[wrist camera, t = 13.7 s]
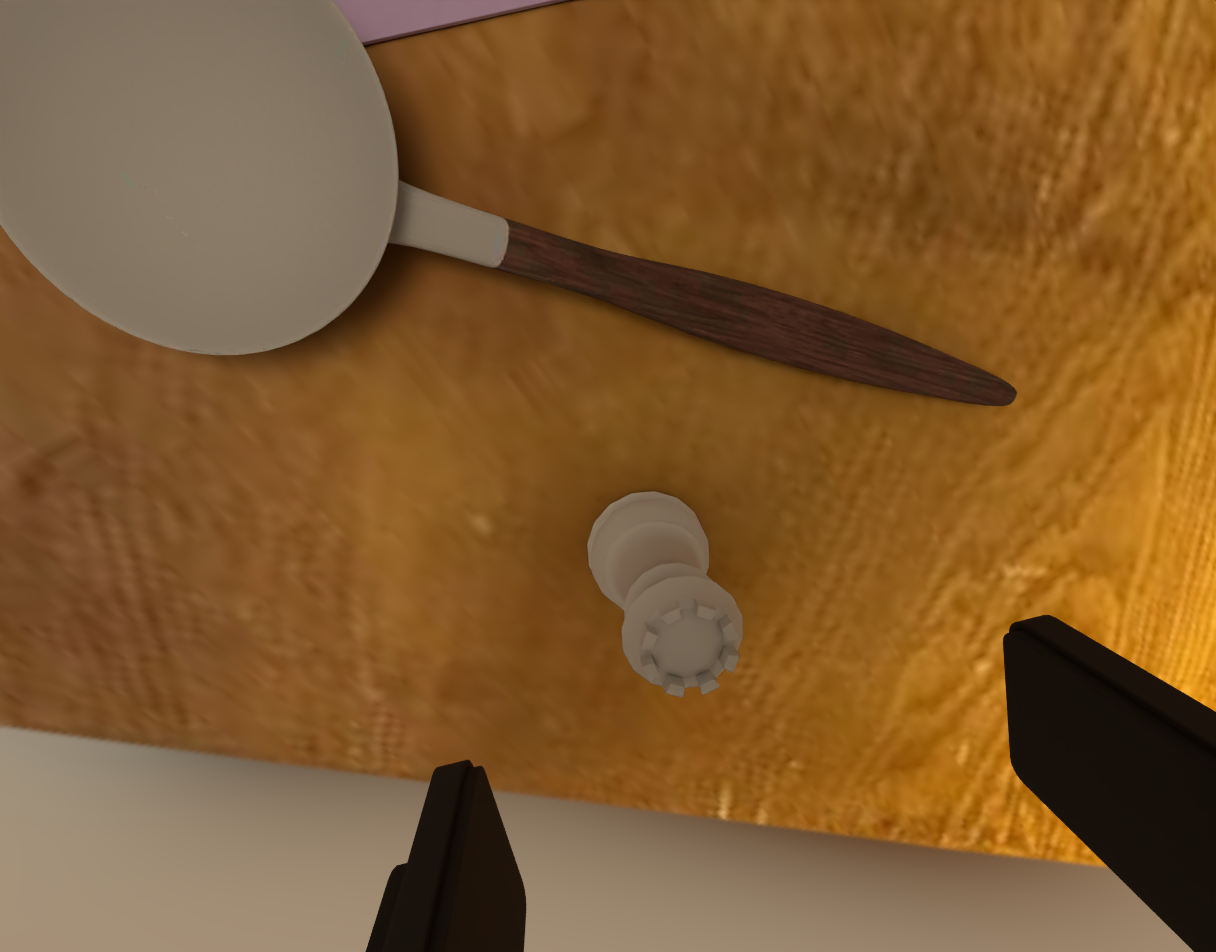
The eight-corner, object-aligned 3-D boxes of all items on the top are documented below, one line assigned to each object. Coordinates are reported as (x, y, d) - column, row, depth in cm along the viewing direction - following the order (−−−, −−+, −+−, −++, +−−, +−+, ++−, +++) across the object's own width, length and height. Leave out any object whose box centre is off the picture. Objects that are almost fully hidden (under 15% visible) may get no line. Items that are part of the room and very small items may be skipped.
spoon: (45, -111, 16) (-61, -194, 13) (1047, 248, 22) (1122, 244, 19) (44, 293, 19) (-44, 296, 16) (924, 514, 25) (973, 544, 22)
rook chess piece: (714, 580, 23) (794, 702, 15) (604, 613, 23) (627, 752, 15) (687, 473, 22) (758, 545, 14) (571, 506, 22) (579, 597, 14)
